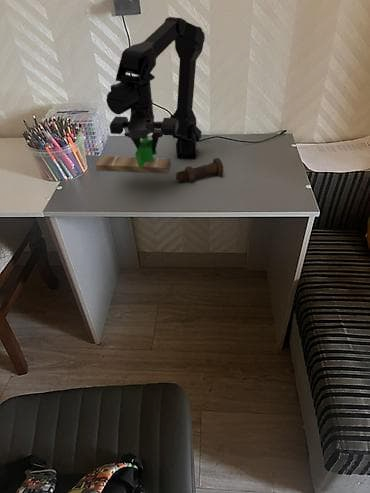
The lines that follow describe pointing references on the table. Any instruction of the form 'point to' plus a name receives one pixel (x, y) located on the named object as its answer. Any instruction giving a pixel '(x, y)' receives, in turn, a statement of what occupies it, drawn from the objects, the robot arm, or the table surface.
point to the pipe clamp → (145, 152)
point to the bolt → (200, 171)
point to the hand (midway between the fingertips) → (147, 153)
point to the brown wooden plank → (132, 164)
